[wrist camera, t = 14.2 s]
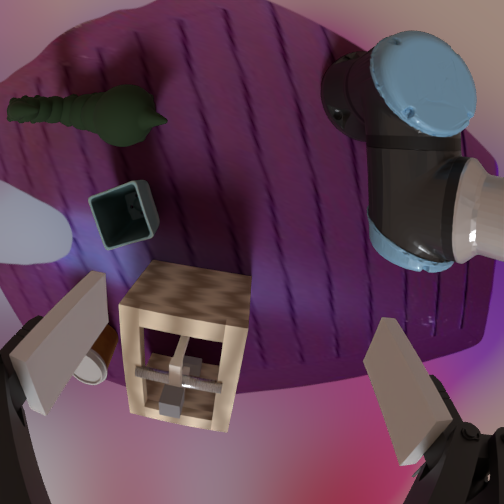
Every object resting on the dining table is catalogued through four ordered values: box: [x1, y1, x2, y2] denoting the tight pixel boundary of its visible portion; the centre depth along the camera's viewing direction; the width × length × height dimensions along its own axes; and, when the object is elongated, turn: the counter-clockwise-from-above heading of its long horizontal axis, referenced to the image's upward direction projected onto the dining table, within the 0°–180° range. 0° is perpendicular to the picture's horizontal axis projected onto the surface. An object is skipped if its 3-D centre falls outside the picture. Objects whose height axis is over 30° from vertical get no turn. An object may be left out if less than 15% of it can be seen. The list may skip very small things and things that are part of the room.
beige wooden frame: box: [119, 260, 252, 432], centre depth 52 cm, size 18×24×17 cm
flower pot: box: [88, 180, 160, 250], centre depth 47 cm, size 9×9×9 cm
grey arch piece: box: [159, 335, 202, 419], centre depth 47 cm, size 5×13×16 cm, turn 171°
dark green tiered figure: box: [7, 85, 168, 147], centre depth 38 cm, size 9×19×25 cm
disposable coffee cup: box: [73, 324, 118, 385], centre depth 57 cm, size 10×10×12 cm
